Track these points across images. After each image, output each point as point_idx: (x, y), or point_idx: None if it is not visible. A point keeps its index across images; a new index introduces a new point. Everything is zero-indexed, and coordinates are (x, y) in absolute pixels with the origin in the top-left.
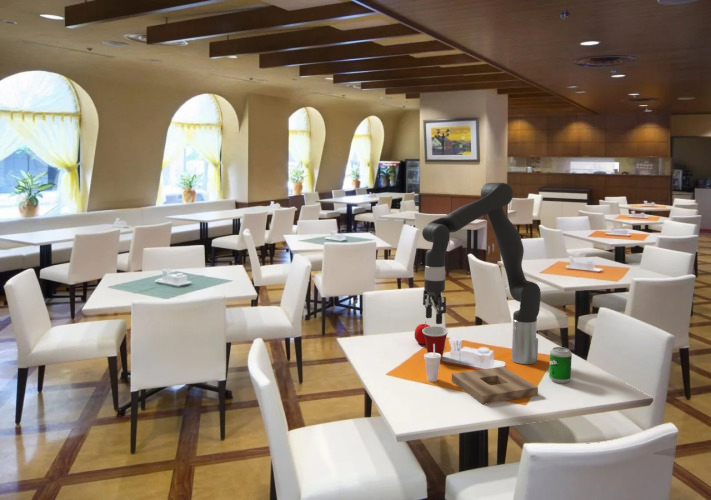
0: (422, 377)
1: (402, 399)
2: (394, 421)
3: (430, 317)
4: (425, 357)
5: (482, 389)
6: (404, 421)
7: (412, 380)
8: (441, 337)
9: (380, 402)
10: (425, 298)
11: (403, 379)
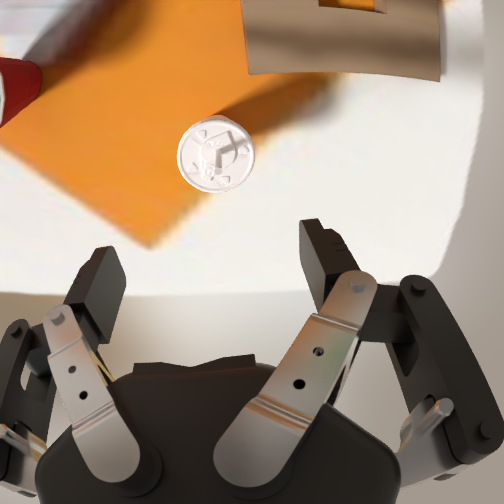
0: None
1: None
2: None
3: (114, 254)
4: (223, 188)
5: (407, 53)
6: (413, 264)
7: None
8: (3, 77)
9: None
10: (42, 416)
11: (195, 213)
